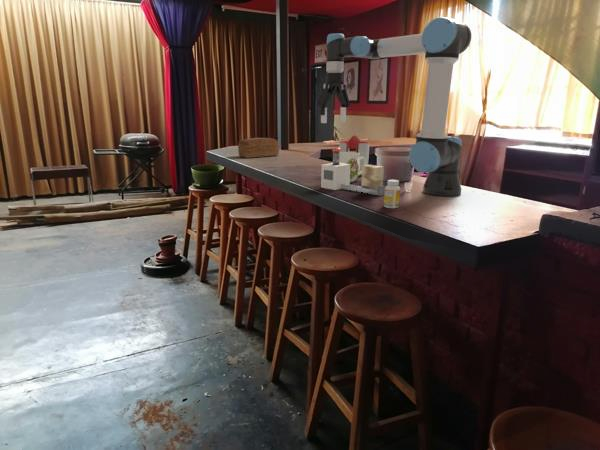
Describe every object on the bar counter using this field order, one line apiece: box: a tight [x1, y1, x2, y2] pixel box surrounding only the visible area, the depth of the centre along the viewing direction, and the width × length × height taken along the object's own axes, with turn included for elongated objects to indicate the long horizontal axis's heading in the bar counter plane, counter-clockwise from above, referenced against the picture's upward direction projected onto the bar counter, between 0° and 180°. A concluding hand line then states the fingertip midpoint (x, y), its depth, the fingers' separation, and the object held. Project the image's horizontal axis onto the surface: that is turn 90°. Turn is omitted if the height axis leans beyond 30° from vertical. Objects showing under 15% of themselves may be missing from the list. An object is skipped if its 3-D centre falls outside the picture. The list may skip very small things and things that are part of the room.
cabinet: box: [320, 162, 351, 191], centre depth 189 cm, size 8×10×10 cm
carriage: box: [360, 164, 385, 190], centre depth 176 cm, size 7×5×9 cm
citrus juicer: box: [338, 134, 371, 177], centre depth 219 cm, size 16×17×20 cm
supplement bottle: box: [383, 179, 401, 209], centre depth 155 cm, size 5×5×10 cm
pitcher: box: [339, 152, 367, 183], centre depth 203 cm, size 11×18×14 cm, turn 112°
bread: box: [237, 137, 280, 159], centre depth 289 cm, size 14×28×12 cm, turn 127°
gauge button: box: [331, 147, 341, 165], centre depth 186 cm, size 4×4×7 cm
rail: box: [340, 184, 386, 197], centre depth 180 cm, size 20×4×4 cm, turn 47°
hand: (333, 122), depth 194 cm, fingers open, 13 cm apart
